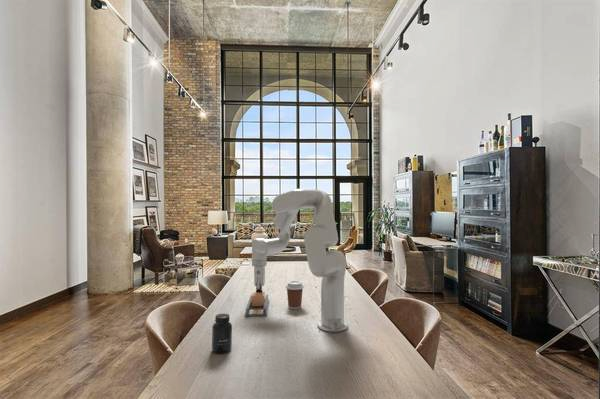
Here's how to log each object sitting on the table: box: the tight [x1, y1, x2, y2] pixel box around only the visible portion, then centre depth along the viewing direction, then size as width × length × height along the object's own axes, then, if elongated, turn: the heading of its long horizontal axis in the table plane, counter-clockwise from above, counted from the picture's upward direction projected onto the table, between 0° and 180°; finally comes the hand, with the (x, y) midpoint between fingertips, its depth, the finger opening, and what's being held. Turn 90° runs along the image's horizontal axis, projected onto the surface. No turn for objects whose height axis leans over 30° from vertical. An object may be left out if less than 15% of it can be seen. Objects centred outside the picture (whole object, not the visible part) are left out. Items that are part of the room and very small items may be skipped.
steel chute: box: [244, 294, 270, 317], centre depth 161 cm, size 22×10×4 cm, turn 3°
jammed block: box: [251, 291, 266, 306], centre depth 163 cm, size 6×6×5 cm
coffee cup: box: [285, 280, 305, 310], centre depth 163 cm, size 9×9×12 cm
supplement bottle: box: [211, 313, 233, 355], centre depth 116 cm, size 7×7×12 cm
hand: (259, 298), depth 168 cm, fingers closed
